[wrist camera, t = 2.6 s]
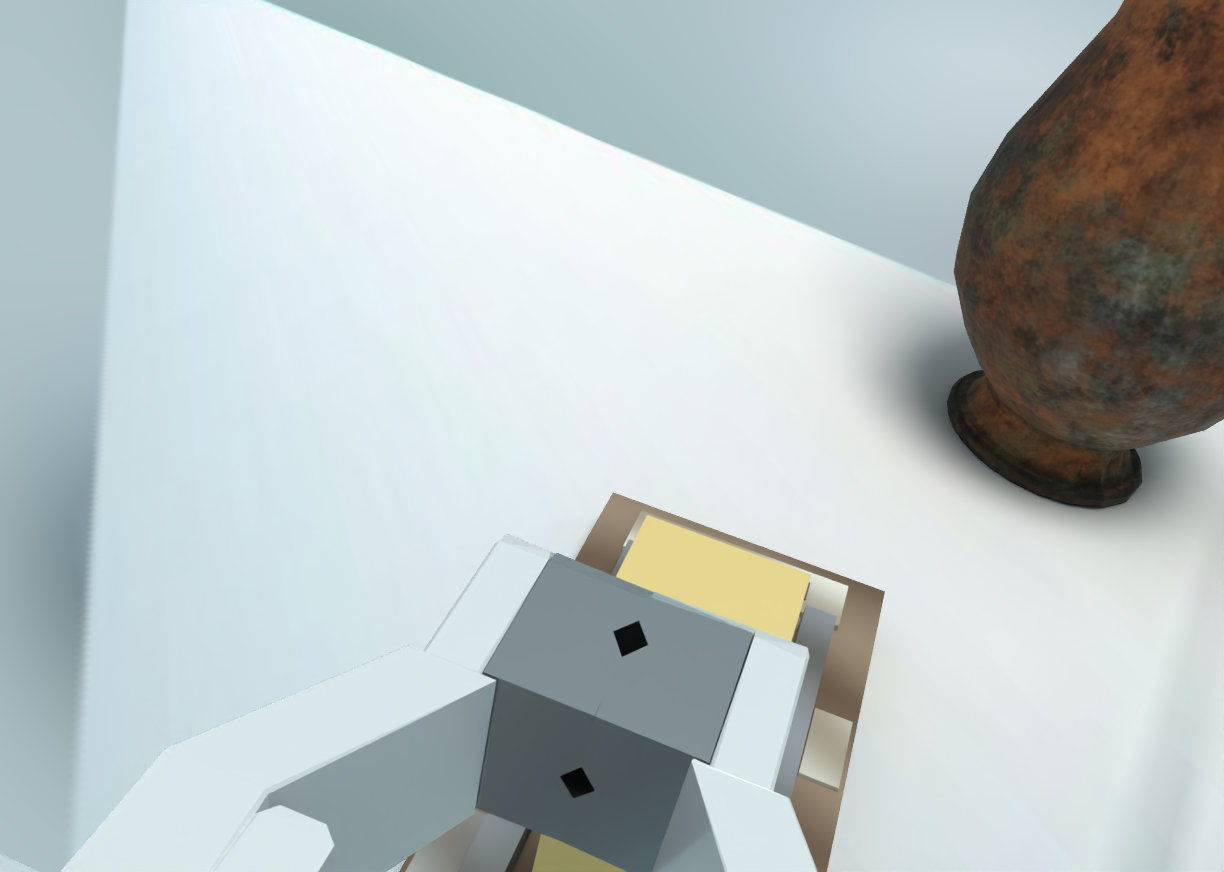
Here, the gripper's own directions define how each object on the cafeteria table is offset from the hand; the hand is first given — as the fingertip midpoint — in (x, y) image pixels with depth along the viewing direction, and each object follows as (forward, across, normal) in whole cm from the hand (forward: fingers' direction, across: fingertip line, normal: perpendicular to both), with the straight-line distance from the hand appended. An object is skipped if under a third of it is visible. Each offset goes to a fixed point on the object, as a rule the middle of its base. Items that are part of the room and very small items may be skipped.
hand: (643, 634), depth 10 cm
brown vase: (+45, -14, +25) cm, 53 cm away
